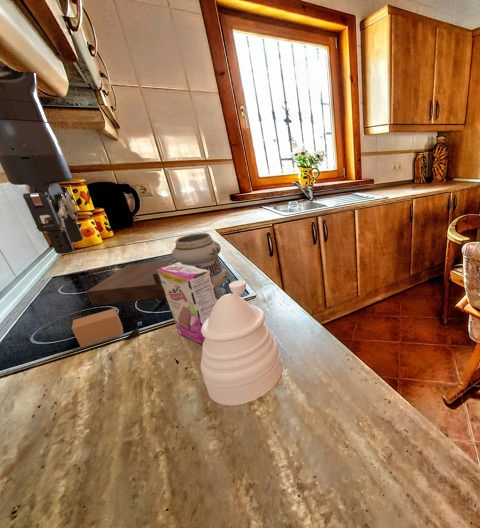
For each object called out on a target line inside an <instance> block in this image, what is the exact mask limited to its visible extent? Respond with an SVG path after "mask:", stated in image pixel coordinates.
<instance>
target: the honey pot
mask: <svg viewBox="0 0 480 528" xmlns="http://www.w3.org/2000/svg"><path fill="white" fill-rule="evenodd" d="M228 287H229V289H230V292H231V293H228V294H225V295H223V296H222V297H220V298H219V299H218V301H217V302H216V303H215V305H214V307H213V309H212V311H211V314H210V317H209V318H208V319H207V320H206V321H205V322H204V323H203V325H202V328H201V333H202V335H203V336H204V337H205V341H204V342H203V345H202V347H201V350H202V353H201V359H200V365H199V366H200V367H199V369H200V371H201V374H202V378H203V382H204V384H205V387H206V391H207V394H208V397H209V398H210V399H211V400H212V401H213V402H214V403H217V404H218V405H222V406H239V405H240V406H241V405H244V404H248V403H251V402H254V401H255V400H258V399H260V398H261V397H263V396H264V395H266V394H268V392H270V391H271V390H272V389H273V388H274V387H275V386H276V385H277V383H278V382H279V380H280V378H281V376H282V371H283V365H282V360H281V355H280V350H279V349H280V348H279V344H278V341H277V339H276V338H275V336H274V335H273V333H272V332H271V330H270V328H269V326H268V325H267V323H265V319H266V315H265V311H264V310H263V309H262V308H260V307H259V306H255V305H252V304H250V303H248V301H246V300H245V299H244V298H243V297H241V296H240V295H242V294H244V292H245V291H246V289H247V281H246V280H243V279H239V280H234V281H232V282H230V283H229V284H228Z"/></svg>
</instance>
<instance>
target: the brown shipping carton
mask: <svg viewBox="0 0 480 528" xmlns="http://www.w3.org/2000/svg"><path fill="white" fill-rule="evenodd" d="M71 330H72V333H73V334H74V336H75V338H76V340H77V343H78V344H79V346H80V348H81V349H83V348H85V347H88V346H90V345H94V344H97V343H99V342H103V341H106V340H109V339H111V338H115V337H118V336H121V335H124V326H123V323H122V321H121V318H120V316H119V314H118V311H117V309H116V307H113V308H110V309H107V310H104V311H101V312H100V311H99V312H96V313H93V314H90V315H86V316H83V317H79V318H74V319H73V320H72V325H71ZM140 335H141V334H140V330H139V326H138V325H137V326H136V327H135V328H134V329H133V330H132V331H131V333H129V334H128V336H127V337H126V338H125V339H124V340H123V342H127V341H129V340H132V339H135V338H137V337H140Z"/></svg>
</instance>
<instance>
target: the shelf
mask: <svg viewBox="0 0 480 528" xmlns="http://www.w3.org/2000/svg"><path fill="white" fill-rule="evenodd" d="M175 263H178V262H177V261H175V260H174V259H173V258H172V257H171V258H170V259H169V260H160V261H148V262H139V263H129V264H127V265H125V266H123V268H120V269H119V270H117V271H116V272H114V273H113V274H111V275H109V276H108V277H106V278H105V279H103V280H102V281H101V282H99V283H97V284H96V285H93V287H91V288H89V289H87V290H86V294H87V296H88V299H89V301H90V303H91V306H101V305H109V304H119V303H127V302H137V301H146V300H154V299H161V301H160V302H158V304H159V305H161V304H168V301H167V298H166V295H165V292H164V289H163V286H162V283H161V280H160V277H159V274H158V272H157V270H158V269H160V268H162V267H166V266H168V265H172V264H175Z"/></svg>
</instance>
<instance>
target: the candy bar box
mask: <svg viewBox="0 0 480 528" xmlns="http://www.w3.org/2000/svg"><path fill="white" fill-rule="evenodd" d="M157 272H158V274H159V277H160V280H161V283H162V286H163V289H164V292H165V295H166V298H167V301H168V302H167V304H168V307H169V309H170V312H171V315H172V318H173V321H174V324H175V328H176V331H177V333H178V335H180V336H183V337H184V338H186V339H189V340H191V341H193V342H195V343H197V344H199V345H201V346H203V342H204V341H205V337H204V336H203V335H202V333H201V328H202V325H203V323H204V322H205V321H206V320H207V319H208V318H209V317H210V314H211V311H212V309H213V307H214V305H215V303H216V302H217V301H218V300H217V297H216V293H215V289H214V285H213V282H212V277H211V274H210V271H209V270H205V269H202V268H198V267H194V266H191V265H187V264H184V263H180V262H178V263H175V264H172V265H168V266H166V267H162V268H160V269H158V270H157Z"/></svg>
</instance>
